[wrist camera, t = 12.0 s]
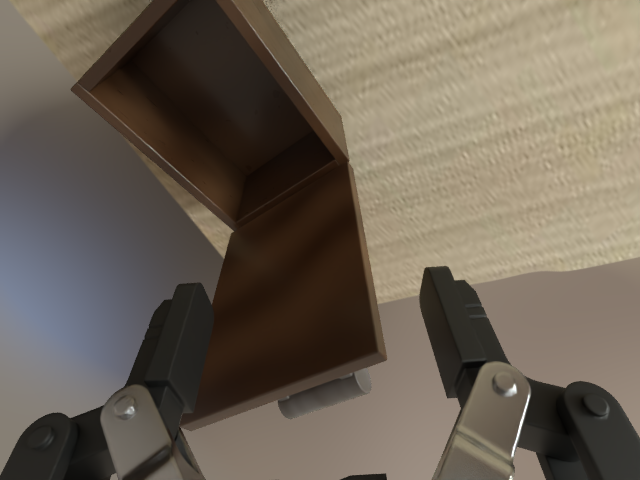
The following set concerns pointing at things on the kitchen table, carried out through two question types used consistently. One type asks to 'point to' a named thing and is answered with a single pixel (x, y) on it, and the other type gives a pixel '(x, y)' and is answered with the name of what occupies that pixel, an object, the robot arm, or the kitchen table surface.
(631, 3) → the kitchen table surface
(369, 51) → the kitchen table surface
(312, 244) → the lid
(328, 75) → the kitchen table surface
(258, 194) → the box
